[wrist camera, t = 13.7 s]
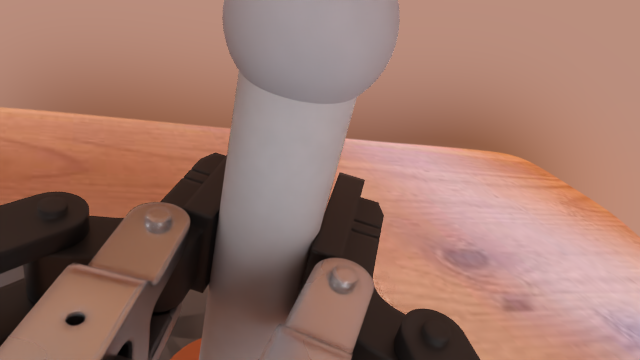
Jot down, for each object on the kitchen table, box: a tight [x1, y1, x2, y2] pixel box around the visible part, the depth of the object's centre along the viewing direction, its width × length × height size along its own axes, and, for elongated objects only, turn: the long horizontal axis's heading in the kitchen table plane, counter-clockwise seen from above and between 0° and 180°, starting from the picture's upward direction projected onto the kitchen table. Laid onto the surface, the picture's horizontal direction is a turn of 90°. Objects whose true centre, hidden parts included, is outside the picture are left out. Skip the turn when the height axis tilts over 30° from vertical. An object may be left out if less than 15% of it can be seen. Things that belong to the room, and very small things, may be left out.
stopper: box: [170, 0, 399, 360], centre depth 12 cm, size 4×4×15 cm
